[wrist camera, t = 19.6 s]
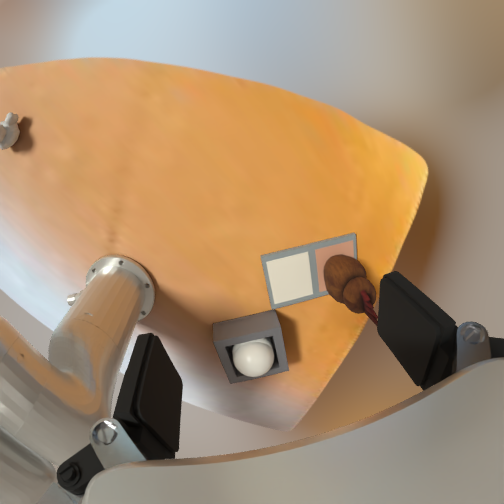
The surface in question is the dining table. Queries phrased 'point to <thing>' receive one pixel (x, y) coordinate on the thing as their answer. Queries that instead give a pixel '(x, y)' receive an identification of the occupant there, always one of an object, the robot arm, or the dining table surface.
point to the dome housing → (245, 332)
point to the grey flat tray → (302, 269)
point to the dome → (253, 357)
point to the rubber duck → (9, 131)
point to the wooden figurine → (350, 285)
